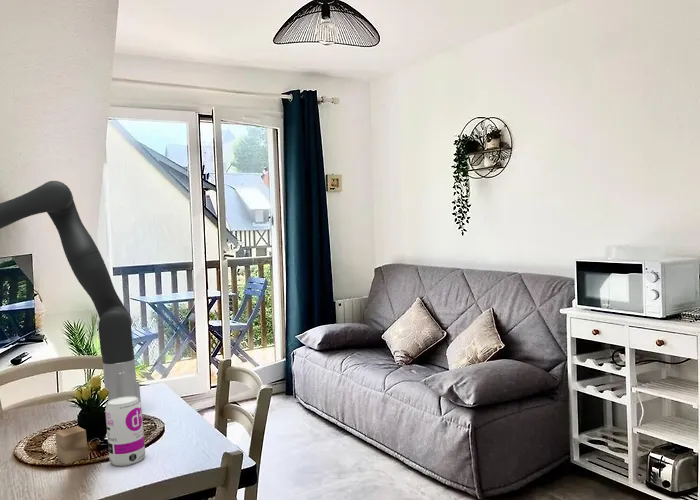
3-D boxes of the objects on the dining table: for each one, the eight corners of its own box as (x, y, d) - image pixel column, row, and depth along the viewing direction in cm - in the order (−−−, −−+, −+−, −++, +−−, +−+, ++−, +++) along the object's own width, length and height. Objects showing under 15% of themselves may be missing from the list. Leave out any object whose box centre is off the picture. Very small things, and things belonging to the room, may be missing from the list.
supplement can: (152, 455, 149) (147, 396, 149) (127, 468, 142) (122, 406, 141) (128, 452, 153) (123, 394, 152) (102, 465, 145) (97, 404, 145)
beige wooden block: (79, 452, 155) (77, 426, 155) (88, 457, 151) (85, 430, 151) (57, 459, 151) (55, 432, 151) (65, 464, 148) (63, 436, 147)
